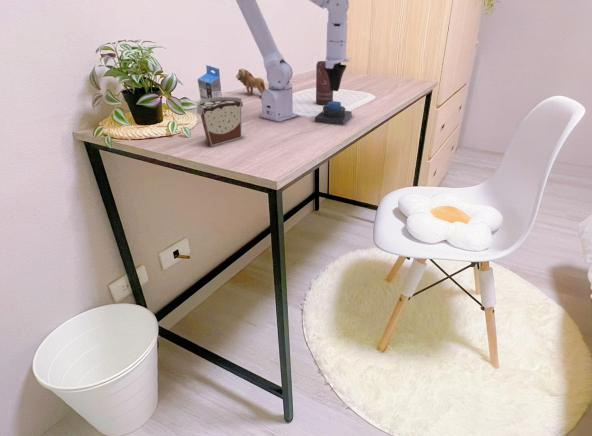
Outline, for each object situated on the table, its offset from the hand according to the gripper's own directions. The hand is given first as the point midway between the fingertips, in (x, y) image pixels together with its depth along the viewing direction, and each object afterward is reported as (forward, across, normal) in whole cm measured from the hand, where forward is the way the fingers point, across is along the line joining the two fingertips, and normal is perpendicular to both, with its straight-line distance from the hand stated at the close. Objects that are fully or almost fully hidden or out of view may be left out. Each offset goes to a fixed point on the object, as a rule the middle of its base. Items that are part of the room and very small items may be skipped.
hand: (334, 90), depth 112 cm
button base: (+9, 0, 0) cm, 9 cm away
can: (+9, +18, +8) cm, 22 cm away
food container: (+9, -30, +23) cm, 39 cm away
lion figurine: (+9, +19, +37) cm, 42 cm away
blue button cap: (+6, 0, 0) cm, 6 cm away
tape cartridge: (+9, -2, +42) cm, 43 cm away
